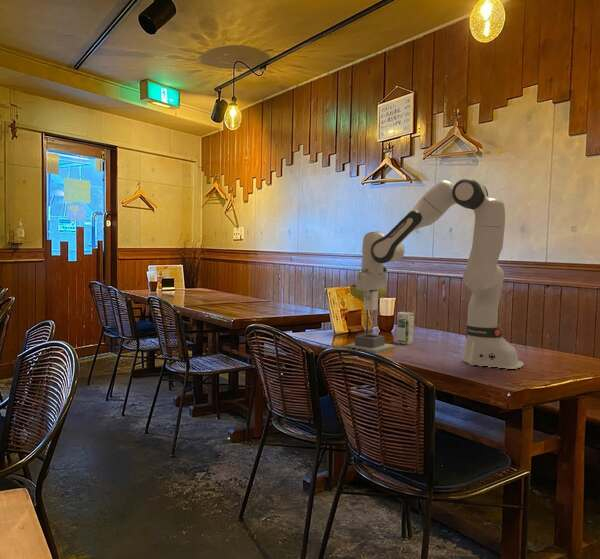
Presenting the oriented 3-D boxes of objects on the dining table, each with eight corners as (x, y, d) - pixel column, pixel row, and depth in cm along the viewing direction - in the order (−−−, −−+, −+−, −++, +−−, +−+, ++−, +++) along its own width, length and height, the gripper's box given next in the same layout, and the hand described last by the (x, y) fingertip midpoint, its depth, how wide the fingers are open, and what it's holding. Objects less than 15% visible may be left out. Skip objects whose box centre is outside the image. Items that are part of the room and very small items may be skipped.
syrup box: (396, 343, 231) (397, 312, 230) (402, 341, 236) (403, 311, 235) (406, 344, 227) (407, 313, 226) (413, 343, 232) (414, 312, 231)
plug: (377, 309, 220) (378, 289, 219) (372, 310, 216) (372, 289, 216) (368, 308, 222) (369, 288, 222) (363, 309, 219) (363, 288, 218)
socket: (394, 347, 222) (394, 336, 221) (376, 352, 209) (376, 340, 209) (363, 342, 232) (363, 331, 231) (344, 347, 219) (344, 336, 219)
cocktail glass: (345, 332, 257) (346, 284, 255) (379, 332, 259) (380, 285, 257) (353, 339, 239) (354, 287, 237) (389, 339, 241) (391, 287, 240)
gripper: (365, 269, 208) (364, 302, 209) (389, 268, 224) (388, 299, 225) (352, 269, 212) (351, 301, 213) (377, 268, 228) (376, 298, 229)
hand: (370, 300), depth 219 cm, fingers closed on plug, 4 cm apart
